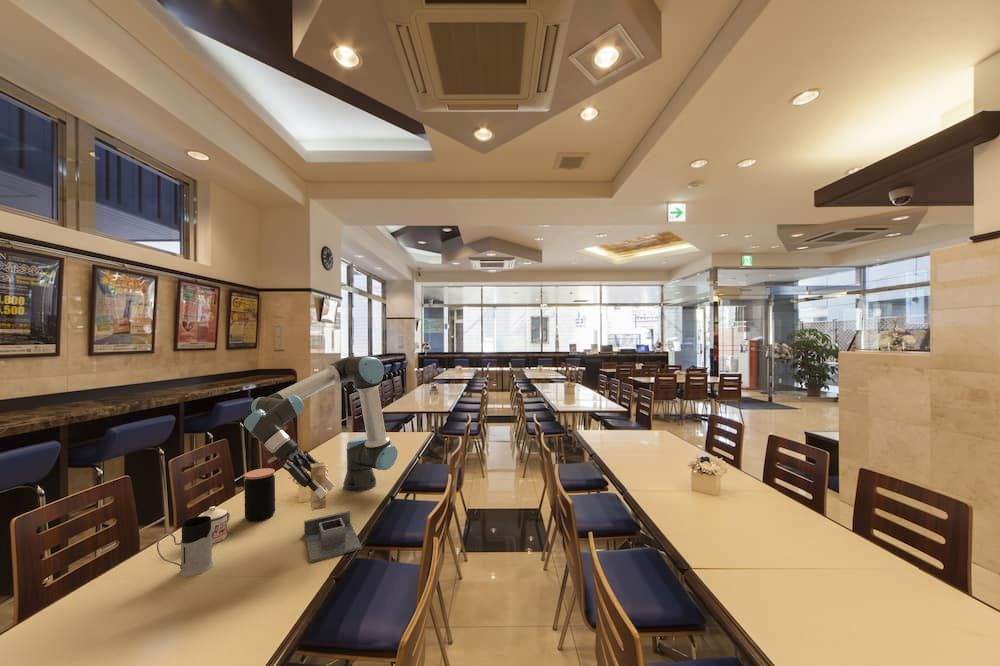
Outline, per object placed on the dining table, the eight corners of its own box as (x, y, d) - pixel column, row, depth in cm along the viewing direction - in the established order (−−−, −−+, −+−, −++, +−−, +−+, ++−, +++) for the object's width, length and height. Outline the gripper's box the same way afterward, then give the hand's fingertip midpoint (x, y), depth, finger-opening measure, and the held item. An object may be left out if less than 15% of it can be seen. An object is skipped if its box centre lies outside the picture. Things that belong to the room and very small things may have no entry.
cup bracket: (349, 523, 158) (349, 508, 158) (361, 549, 139) (361, 531, 139) (304, 534, 150) (304, 518, 150) (310, 562, 131) (310, 544, 131)
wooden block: (324, 503, 147) (323, 462, 147) (325, 507, 143) (325, 465, 143) (310, 506, 145) (310, 464, 145) (312, 510, 141) (311, 467, 141)
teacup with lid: (213, 546, 142) (213, 513, 142) (190, 545, 143) (190, 512, 143) (239, 529, 154) (239, 499, 154) (218, 528, 155) (217, 498, 155)
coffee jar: (280, 511, 170) (280, 468, 170) (263, 523, 159) (263, 477, 159) (257, 510, 171) (256, 467, 171) (238, 522, 160) (238, 476, 160)
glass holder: (217, 567, 129) (217, 520, 129) (160, 588, 118) (160, 537, 118) (208, 557, 135) (208, 512, 135) (153, 577, 124) (153, 528, 124)
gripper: (288, 446, 154) (332, 488, 153) (258, 462, 135) (308, 511, 135) (302, 432, 153) (346, 474, 153) (274, 446, 134) (324, 495, 134)
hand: (328, 491), depth 144 cm, fingers closed on wooden block, 6 cm apart
